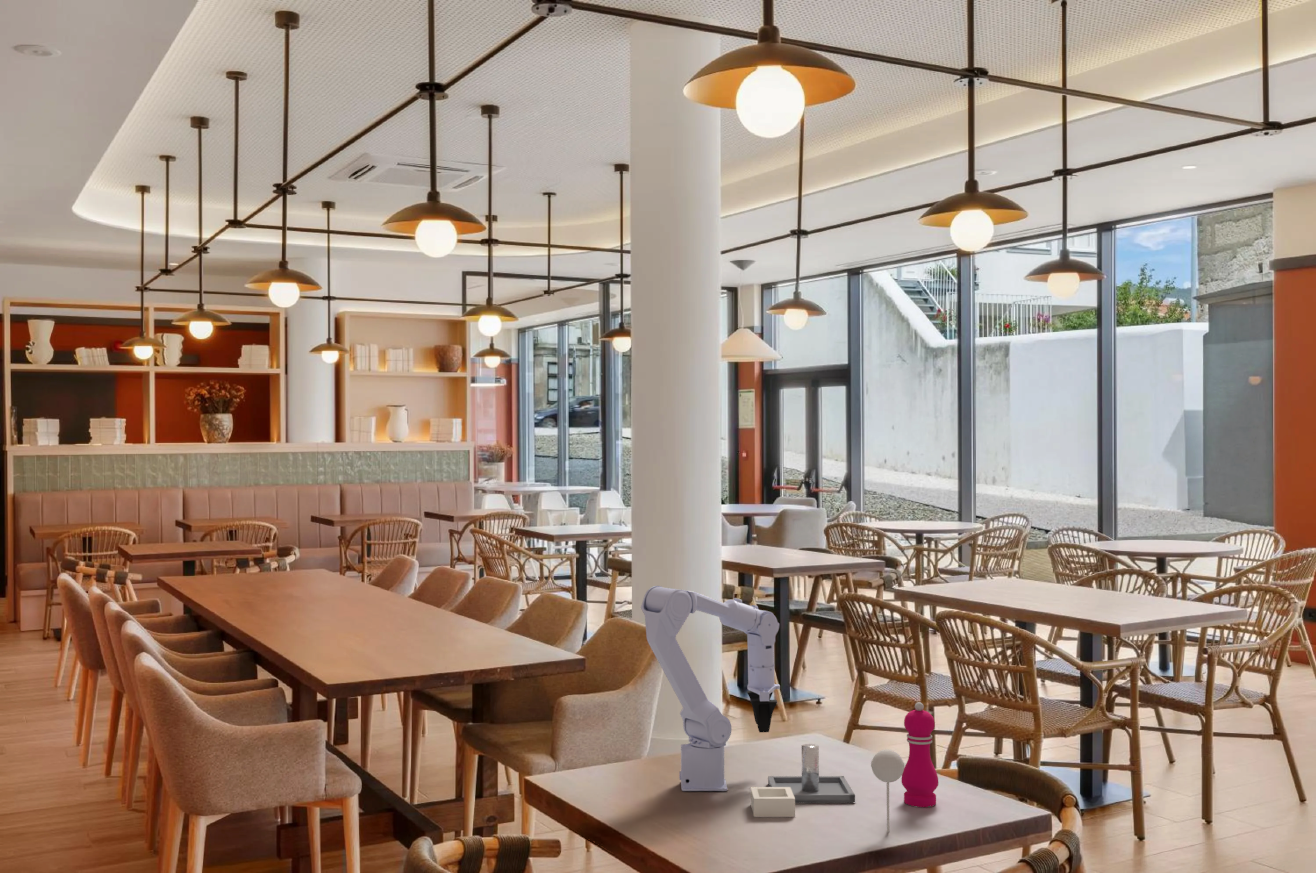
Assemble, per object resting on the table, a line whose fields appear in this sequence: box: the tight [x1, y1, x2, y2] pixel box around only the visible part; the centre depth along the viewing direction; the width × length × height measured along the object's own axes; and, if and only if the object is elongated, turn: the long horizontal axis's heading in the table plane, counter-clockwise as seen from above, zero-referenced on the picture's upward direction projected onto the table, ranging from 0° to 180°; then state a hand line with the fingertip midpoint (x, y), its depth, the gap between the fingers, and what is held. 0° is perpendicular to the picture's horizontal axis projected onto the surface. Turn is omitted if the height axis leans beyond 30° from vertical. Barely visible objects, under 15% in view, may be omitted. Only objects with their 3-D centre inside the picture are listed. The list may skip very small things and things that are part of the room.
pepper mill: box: [900, 701, 939, 808], centre depth 228 cm, size 7×7×20 cm
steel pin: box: [801, 743, 820, 792], centre depth 235 cm, size 4×4×9 cm
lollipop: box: [870, 748, 905, 833], centre depth 210 cm, size 6×6×15 cm
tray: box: [767, 775, 856, 804], centre depth 235 cm, size 16×14×2 cm
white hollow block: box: [750, 786, 796, 818], centre depth 223 cm, size 8×8×4 cm
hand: (762, 727), depth 248 cm, fingers open, 7 cm apart
